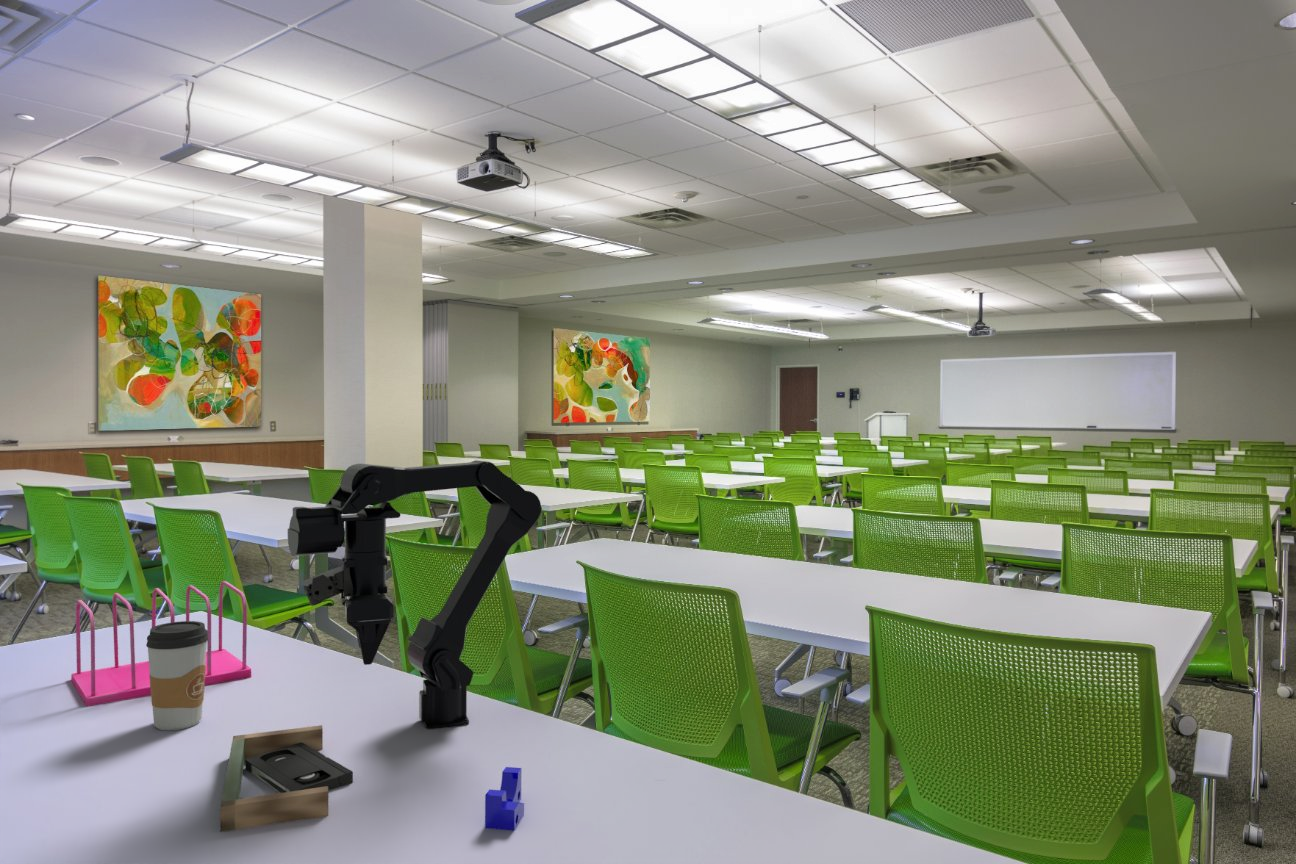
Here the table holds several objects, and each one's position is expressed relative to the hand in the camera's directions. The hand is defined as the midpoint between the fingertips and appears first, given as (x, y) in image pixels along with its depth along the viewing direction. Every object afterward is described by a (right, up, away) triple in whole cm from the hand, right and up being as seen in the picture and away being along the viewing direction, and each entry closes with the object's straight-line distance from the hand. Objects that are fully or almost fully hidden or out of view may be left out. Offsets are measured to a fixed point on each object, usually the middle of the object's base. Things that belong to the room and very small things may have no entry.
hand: (365, 655), depth 127 cm
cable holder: (+25, -13, -23) cm, 37 cm away
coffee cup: (-30, -12, +4) cm, 32 cm away
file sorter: (-44, -11, +26) cm, 53 cm away
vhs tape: (-4, -13, -13) cm, 19 cm away
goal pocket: (-5, -12, -16) cm, 21 cm away
